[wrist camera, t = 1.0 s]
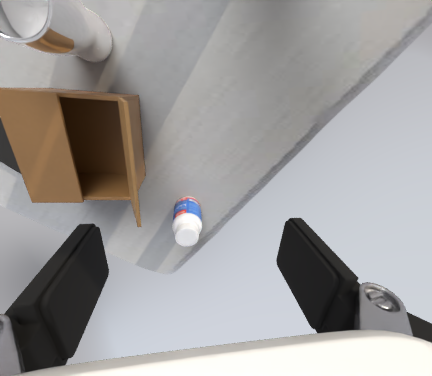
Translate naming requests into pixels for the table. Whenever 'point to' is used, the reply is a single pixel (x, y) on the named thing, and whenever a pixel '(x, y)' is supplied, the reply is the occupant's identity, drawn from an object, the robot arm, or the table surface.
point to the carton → (71, 143)
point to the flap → (129, 157)
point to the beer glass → (56, 28)
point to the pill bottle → (187, 221)
